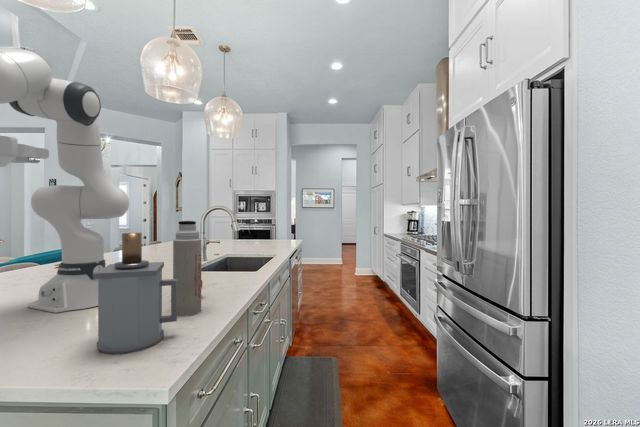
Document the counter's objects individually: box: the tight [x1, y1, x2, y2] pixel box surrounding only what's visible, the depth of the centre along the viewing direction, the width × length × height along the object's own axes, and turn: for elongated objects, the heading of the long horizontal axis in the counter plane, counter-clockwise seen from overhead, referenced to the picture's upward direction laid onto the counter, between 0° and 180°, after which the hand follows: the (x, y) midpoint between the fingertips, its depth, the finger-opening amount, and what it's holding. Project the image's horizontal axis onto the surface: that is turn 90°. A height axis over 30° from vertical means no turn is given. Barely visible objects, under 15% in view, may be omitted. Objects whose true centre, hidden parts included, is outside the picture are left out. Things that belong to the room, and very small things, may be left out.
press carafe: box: [93, 261, 178, 355], centre depth 75 cm, size 17×14×18 cm
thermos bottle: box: [172, 220, 202, 317], centre depth 96 cm, size 8×8×28 cm
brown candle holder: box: [113, 232, 150, 269], centre depth 74 cm, size 10×10×19 cm
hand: (43, 156), depth 63 cm, fingers open, 8 cm apart
